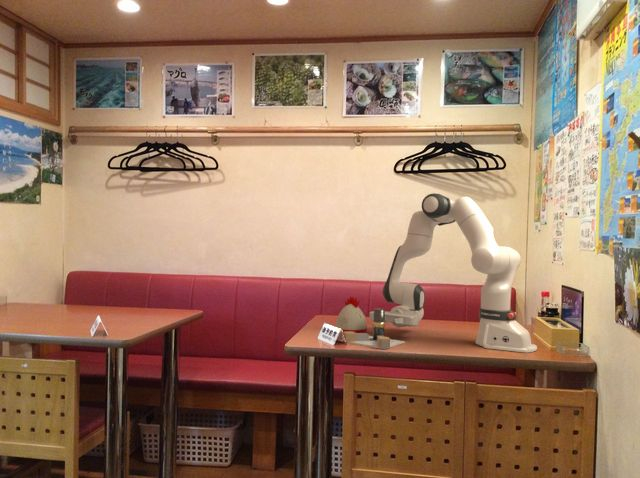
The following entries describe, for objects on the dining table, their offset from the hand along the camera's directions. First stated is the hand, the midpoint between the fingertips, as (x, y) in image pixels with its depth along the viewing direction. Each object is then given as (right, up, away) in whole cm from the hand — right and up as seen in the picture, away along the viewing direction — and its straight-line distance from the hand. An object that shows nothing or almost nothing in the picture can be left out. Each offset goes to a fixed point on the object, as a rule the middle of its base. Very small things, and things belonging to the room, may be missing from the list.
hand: (384, 319), depth 202 cm
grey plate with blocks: (-6, -8, -4) cm, 11 cm away
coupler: (-3, -7, -3) cm, 8 cm away
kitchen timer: (-12, -8, +19) cm, 24 cm away
